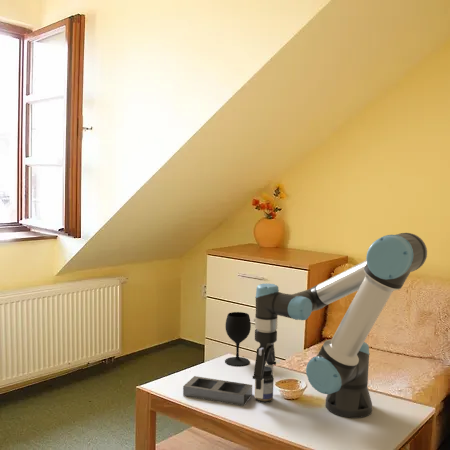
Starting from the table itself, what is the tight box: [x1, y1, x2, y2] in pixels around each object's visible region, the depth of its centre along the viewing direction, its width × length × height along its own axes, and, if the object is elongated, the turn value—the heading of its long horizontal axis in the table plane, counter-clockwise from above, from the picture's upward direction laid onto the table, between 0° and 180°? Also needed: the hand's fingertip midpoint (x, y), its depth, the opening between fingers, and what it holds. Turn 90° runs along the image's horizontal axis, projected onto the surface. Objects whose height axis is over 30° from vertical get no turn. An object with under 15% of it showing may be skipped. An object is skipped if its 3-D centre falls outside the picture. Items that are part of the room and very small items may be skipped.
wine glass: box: [224, 311, 252, 367], centre depth 216 cm, size 10×10×20 cm
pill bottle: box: [254, 365, 274, 404], centre depth 179 cm, size 6×6×11 cm
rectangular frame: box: [182, 375, 253, 407], centre depth 183 cm, size 22×10×4 cm, turn 71°
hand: (264, 390), depth 180 cm, fingers open, 13 cm apart
